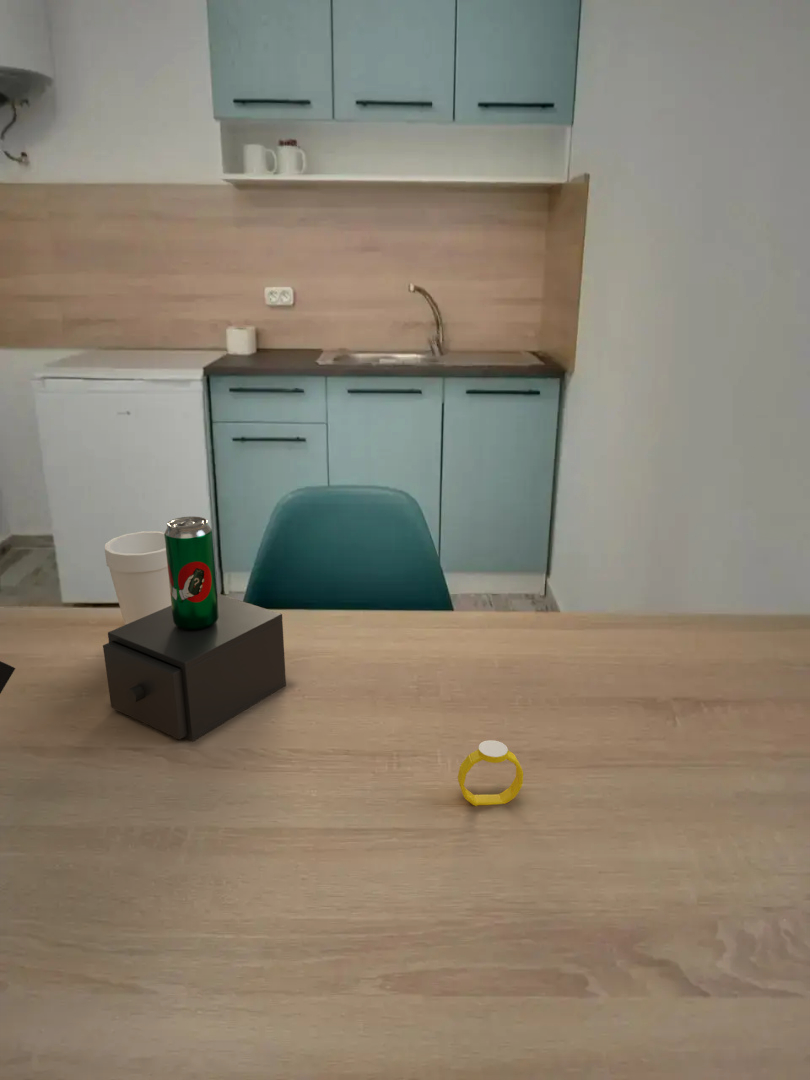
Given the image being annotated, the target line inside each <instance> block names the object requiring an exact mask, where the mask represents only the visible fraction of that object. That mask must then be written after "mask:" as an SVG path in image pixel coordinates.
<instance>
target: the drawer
mask: <svg viewBox="0 0 810 1080" xmlns="http://www.w3.org/2000/svg"><path fill="white" fill-rule="evenodd" d="M102 650H103V657H104V664H105V671H106V678H107V687H108V693H109V701H110V707H111V708H112V709H114V710H116V711H119V712H120V713H122V714H124V715H126V716H129V717H131V718H133V719H135V720H136V721H139V722H141V723H143V724H145V725H148V726H150V727H152V728H154V729H156V730H158V731H161V732H162V733H165V734H167V735H169V736H171V737H173V738H175V739H178V740H181V739H184V738H183V737H185V736H186V735H188V730H187V720H186V711H185V701H184V691H183V681H182V672H181V668H180V667H177V666H175V665H173V664H170V663H168V662H165V661H163V660H160V659H158V658H155V657H153V656H150V655H148V654H145V653H143V652H140V651H138V650H135V649H133V648H130V647H128V646H127V647H124V646H122V645H119V644H117V643H114V642H109V641H108V642H107V643H105V644H103V645H102Z"/></svg>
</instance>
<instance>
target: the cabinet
mask: <svg viewBox="0 0 810 1080" xmlns="http://www.w3.org/2000/svg"><path fill="white" fill-rule="evenodd" d="M217 596H218V608H219V618H218V620H217V621H216V622H215V624H214V625H212V626H211V627H209V628H206V629H202V630H196V631H189V630H183V629H181V628H179V627H178V626H177V625H176V624H174V622H173V615H172V605H171V606H169V607H166V608H164V609H162V610H159V611H157V612H155V613H152V614H150V615H148V616H145V617H143V618H140V619H138V620H136V621H133V622H131V623H129V624H126V625H125V624H124V625H122V626H120V627H117V628H115V629H113V630H110V631H107V638H108V643H109V642H114V643H117V644H119V645H122V646H124V647H127V646H128V647H130V648H133V649H135V650H138V651H140V652H143V653H145V654H148V655H150V656H153V657H155V658H158V659H160V660H163V661H165V662H168V663H170V664H173V665H175V666H177V667H180V668H181V672H182V681H183V691H184V701H185V711H186V720H187V730H188V735H186V736H185V737H183V738H182V739H185V740H187V741H189V742H192V743H193V742H196V741H197V740H199V739H200V738H202V737H203V736H205V735H207V734H208V733H210V732H212V731H214V730H216V729H217V728H218V727H220V726H222V725H224V724H226V723H227V722H228V721H230V720H232V719H234V718H235V717H237V716H238V715H241V714H242V713H243V712H245V711H247V710H248V709H250V708H252V707H253V706H255V705H256V704H258V703H260V702H261V701H263V700H265V699H266V698H268V697H270V696H271V695H273V694H275V693H276V692H278V691H280V690H281V689H283V688H285V687H286V686H287V679H286V678H287V676H286V660H285V659H286V657H285V643H284V642H285V641H284V626H283V625H284V624H283V613H280V612H277V611H274V610H271V609H267V608H265V607H261V606H258V605H255V604H253V603H248V602H246V601H242V600H239V599H236V598H234V597H229V596H227V595H224V594H221V593H218V592H217Z"/></svg>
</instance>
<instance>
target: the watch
mask: <svg viewBox="0 0 810 1080" xmlns="http://www.w3.org/2000/svg"><path fill="white" fill-rule="evenodd" d="M506 760H507V761H509V762H511V763H512V764H514V766H515V777H514V779H513V781H512V782H511V783H510V786H509V787H508V788H506V789H505V790H504V791H503V790H502V792H500V793H498V794H473V793H472V792H471V791H470V790H468V789H467V788H466V787H465V782H466V777H467V774H468V773H469V772H470V770H471V769H472V768H473V766H474V765H476V764H478V763H479V762H482V761H484V762H487V763H491V764H497V763H498V764H499V763H502V762H505V761H506ZM458 768H459V769H458V773H457V781H458V784H459V788H460V790H461V794H462V795H463V798H464V799H465V800H466V801H467V802H469V803H470V804H471V805H472V806H475V807H478V806H494V805H495V806H496V805H505V804H507V803H509V802H511V801H512V800H514V799H515V798H516V797H517V796H518V794H519V792H520V790H521V789H522V787H523V784H524V771H523V768H522V766H521V763H520V762H519V760H518V758H517V757H516V755H515V754H514V753H513V752H512V751H510V750H509V748H508V747H507V745H506V744H505V743H503V742H502V741H498V740H495V739H494V740H491V739H489V740H484V741H482V742H480V743H479V745H478V747H477V749H476V750H474V751H472V752H470V753H469V754H468V755H467V756H466V757H465V759H463V761H462V762H461V764H460V766H459V767H458Z"/></svg>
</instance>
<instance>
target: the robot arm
mask: <svg viewBox="0 0 810 1080" xmlns="http://www.w3.org/2000/svg"><path fill="white" fill-rule="evenodd" d="M15 670H16V667H14V666H12V665H10V664H9V663H6V662H3V661H1V660H0V694H2V692H3V691H4V689H5V687H6V686H7V684H8V682H9V681H10V679H11V677H12V675H13V674H14V672H15Z"/></svg>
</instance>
